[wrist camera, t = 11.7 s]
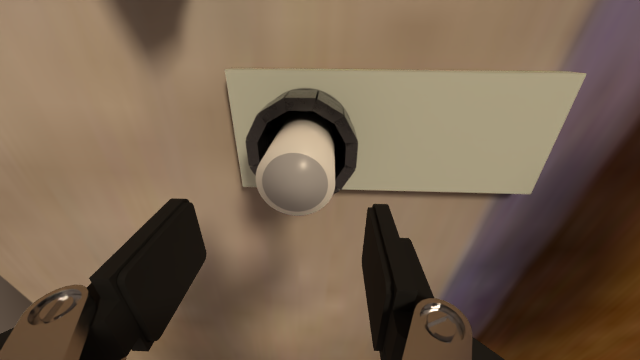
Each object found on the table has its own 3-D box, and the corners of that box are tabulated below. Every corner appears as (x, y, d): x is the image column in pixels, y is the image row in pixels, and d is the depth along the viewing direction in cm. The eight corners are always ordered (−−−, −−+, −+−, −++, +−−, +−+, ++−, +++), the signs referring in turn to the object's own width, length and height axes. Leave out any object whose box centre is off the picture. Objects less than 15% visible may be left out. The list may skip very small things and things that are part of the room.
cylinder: (335, 113, 19) (336, 147, 13) (333, 166, 21) (334, 218, 15) (276, 112, 19) (250, 145, 13) (280, 165, 21) (259, 216, 15)
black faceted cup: (356, 88, 19) (361, 98, 16) (349, 177, 23) (353, 202, 19) (255, 87, 19) (239, 96, 16) (265, 175, 23) (253, 199, 20)
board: (569, 71, 20) (586, 73, 18) (519, 185, 24) (530, 194, 23) (231, 67, 20) (224, 69, 19) (247, 179, 25) (242, 186, 24)
